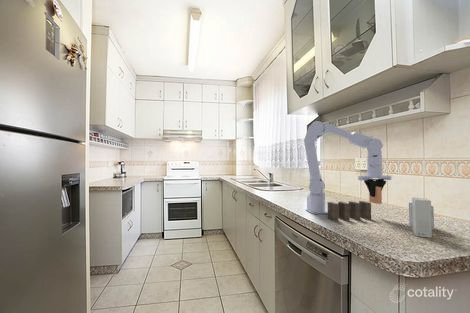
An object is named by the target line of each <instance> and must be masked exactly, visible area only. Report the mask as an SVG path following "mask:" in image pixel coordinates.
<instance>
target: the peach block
mask: <svg viewBox="0 0 470 313" xmlns="http://www.w3.org/2000/svg"><path fill="white" fill-rule="evenodd" d="M382 191H383V189H382V188H381V187H376V188H375V197H371V196H370V193H369V192H368V198H369V199H368V200H369V203H371V204H372V203H373V204H377V205H380V204H381V205H382V204H383V203H382V200H383V198H382V197H383V196H382V193H383V192H382Z"/></svg>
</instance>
